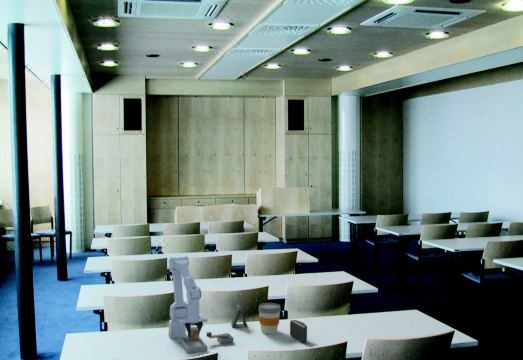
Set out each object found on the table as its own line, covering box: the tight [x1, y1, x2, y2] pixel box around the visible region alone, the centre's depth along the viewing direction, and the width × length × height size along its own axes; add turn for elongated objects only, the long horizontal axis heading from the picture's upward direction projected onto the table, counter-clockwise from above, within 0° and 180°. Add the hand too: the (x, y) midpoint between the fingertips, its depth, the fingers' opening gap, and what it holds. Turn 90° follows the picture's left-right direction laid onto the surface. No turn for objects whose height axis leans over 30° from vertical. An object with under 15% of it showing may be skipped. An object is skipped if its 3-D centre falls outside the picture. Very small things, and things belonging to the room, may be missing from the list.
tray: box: [179, 335, 208, 354], centre depth 313 cm, size 11×17×2 cm, turn 20°
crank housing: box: [216, 333, 234, 346], centre depth 325 cm, size 7×14×3 cm, turn 20°
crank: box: [206, 331, 230, 339], centre depth 320 cm, size 12×4×3 cm, turn 110°
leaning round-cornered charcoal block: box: [289, 319, 308, 345], centre depth 327 cm, size 16×5×9 cm, turn 27°
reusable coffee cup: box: [258, 302, 282, 335], centre depth 339 cm, size 13×13×15 cm
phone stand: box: [230, 304, 249, 329], centre depth 349 cm, size 9×6×12 cm, turn 99°
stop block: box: [189, 326, 200, 342], centre depth 313 cm, size 4×5×6 cm
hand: (193, 336), depth 313 cm, fingers closed on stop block, 4 cm apart
